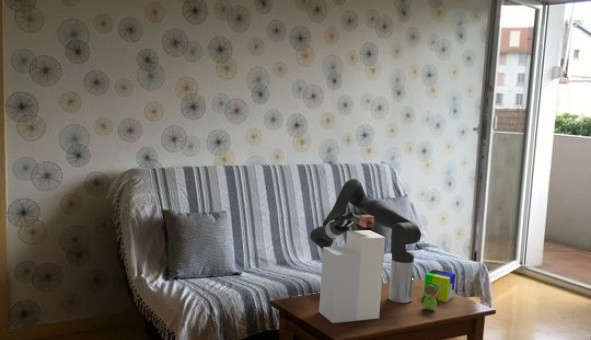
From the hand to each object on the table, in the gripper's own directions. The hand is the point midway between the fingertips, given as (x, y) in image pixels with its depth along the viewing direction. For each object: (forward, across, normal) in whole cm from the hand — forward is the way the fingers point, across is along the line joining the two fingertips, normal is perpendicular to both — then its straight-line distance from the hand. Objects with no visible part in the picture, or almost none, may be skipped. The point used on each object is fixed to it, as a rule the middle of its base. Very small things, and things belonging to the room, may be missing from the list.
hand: (355, 213), depth 247 cm
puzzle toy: (-21, -45, -32) cm, 59 cm away
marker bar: (+2, 0, -4) cm, 4 cm away
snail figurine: (-9, -31, -39) cm, 51 cm away
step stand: (-11, +5, -38) cm, 39 cm away
